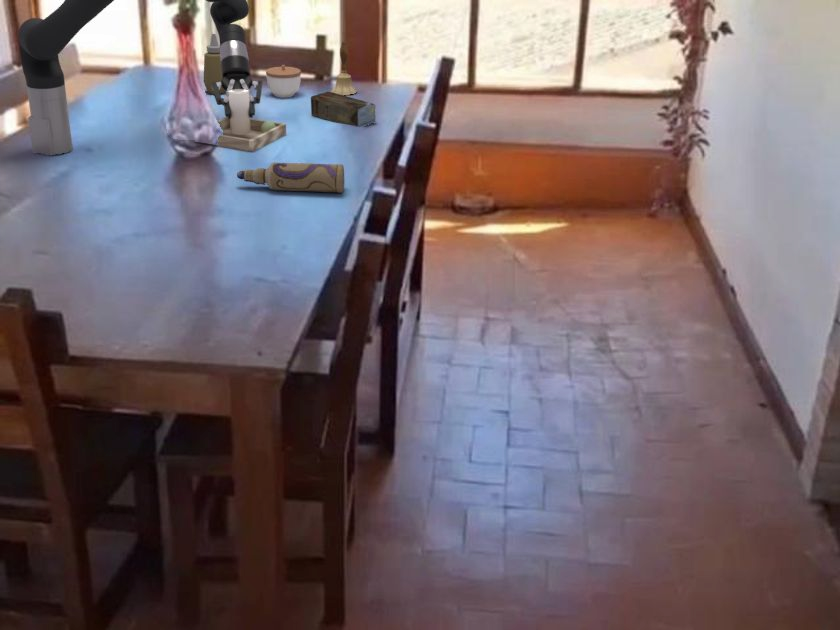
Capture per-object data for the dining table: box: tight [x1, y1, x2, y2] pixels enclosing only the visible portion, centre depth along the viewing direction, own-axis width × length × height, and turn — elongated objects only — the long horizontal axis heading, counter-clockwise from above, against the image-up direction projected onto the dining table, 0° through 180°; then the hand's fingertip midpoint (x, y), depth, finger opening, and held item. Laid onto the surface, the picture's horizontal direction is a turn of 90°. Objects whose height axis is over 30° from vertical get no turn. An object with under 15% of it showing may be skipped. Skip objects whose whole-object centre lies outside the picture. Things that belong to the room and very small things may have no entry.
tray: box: [217, 116, 287, 153], centre depth 289 cm, size 18×18×4 cm
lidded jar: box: [265, 64, 302, 99], centre depth 331 cm, size 11×11×9 cm
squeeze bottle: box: [203, 33, 227, 95], centre depth 330 cm, size 8×8×18 cm
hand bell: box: [330, 41, 358, 96], centre depth 334 cm, size 8×8×16 cm
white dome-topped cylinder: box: [229, 89, 251, 135], centre depth 286 cm, size 5×5×11 cm
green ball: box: [261, 120, 276, 133], centre depth 291 cm, size 4×4×4 cm
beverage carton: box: [310, 91, 376, 127], centre depth 309 cm, size 8×19×7 cm, turn 51°
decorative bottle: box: [236, 162, 345, 194], centre depth 254 cm, size 26×8×7 cm, turn 86°
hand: (240, 116), depth 285 cm, fingers closed on white dome-topped cylinder, 5 cm apart
